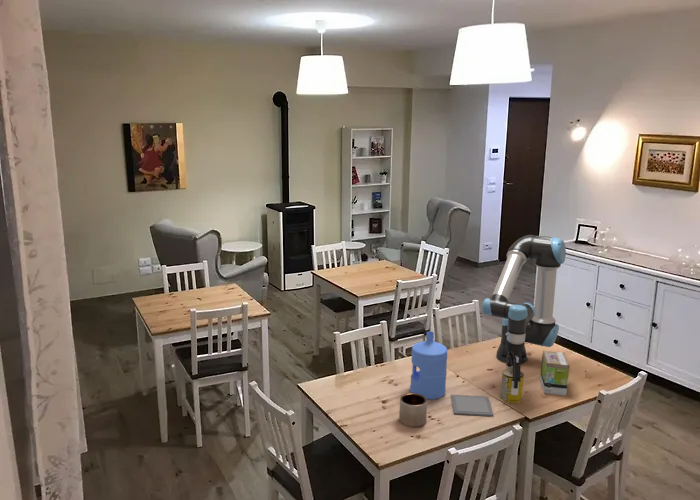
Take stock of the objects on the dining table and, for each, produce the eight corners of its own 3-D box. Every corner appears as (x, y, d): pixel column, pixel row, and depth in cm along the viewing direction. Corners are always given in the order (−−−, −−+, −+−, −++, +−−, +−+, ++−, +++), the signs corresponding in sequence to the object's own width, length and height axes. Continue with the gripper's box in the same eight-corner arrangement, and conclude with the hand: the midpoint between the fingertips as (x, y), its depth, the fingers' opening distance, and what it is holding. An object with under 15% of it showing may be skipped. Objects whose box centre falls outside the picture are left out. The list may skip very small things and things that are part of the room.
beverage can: (507, 391, 259) (509, 366, 256) (525, 398, 252) (527, 373, 250) (496, 398, 252) (498, 372, 250) (514, 405, 246) (516, 379, 243)
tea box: (567, 396, 255) (570, 365, 252) (543, 393, 257) (546, 362, 254) (561, 381, 269) (564, 351, 266) (539, 379, 271) (542, 349, 268)
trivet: (450, 396, 254) (450, 394, 253) (487, 398, 252) (488, 396, 252) (453, 414, 238) (454, 412, 238) (493, 416, 237) (493, 414, 237)
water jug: (448, 387, 262) (451, 328, 256) (441, 402, 248) (445, 341, 241) (414, 381, 267) (416, 324, 261) (406, 396, 253) (408, 336, 246)
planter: (397, 414, 238) (397, 393, 235) (423, 413, 239) (424, 392, 236) (401, 428, 227) (402, 406, 225) (428, 427, 228) (429, 405, 226)
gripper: (501, 330, 259) (498, 374, 263) (511, 352, 235) (507, 400, 239) (518, 331, 258) (515, 375, 263) (530, 353, 234) (526, 401, 238)
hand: (511, 387), depth 251 cm, fingers open, 13 cm apart
